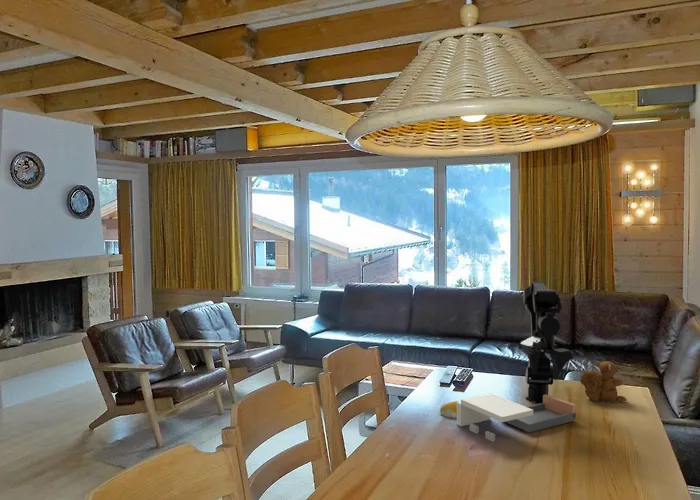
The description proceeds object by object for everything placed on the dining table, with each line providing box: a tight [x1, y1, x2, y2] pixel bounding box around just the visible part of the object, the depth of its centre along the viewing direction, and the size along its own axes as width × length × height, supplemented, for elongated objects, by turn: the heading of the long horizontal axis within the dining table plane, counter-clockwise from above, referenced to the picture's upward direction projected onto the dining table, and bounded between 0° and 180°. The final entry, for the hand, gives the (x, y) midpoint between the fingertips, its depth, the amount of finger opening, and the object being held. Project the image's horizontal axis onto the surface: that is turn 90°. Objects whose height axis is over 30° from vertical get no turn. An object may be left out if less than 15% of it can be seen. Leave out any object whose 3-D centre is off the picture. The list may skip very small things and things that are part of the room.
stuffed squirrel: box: [579, 360, 627, 403], centre depth 203 cm, size 10×14×13 cm
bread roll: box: [439, 400, 460, 419], centre depth 190 cm, size 8×9×4 cm
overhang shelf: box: [456, 392, 533, 443], centre depth 174 cm, size 12×20×8 cm, turn 28°
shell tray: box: [505, 394, 577, 433], centre depth 182 cm, size 20×12×5 cm, turn 118°
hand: (544, 375), depth 188 cm, fingers open, 9 cm apart
